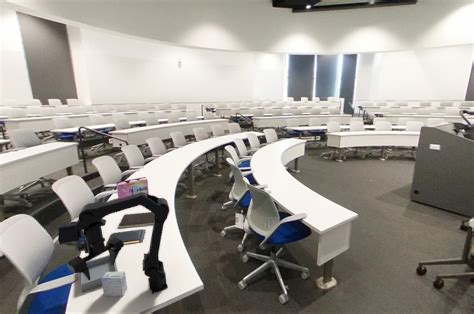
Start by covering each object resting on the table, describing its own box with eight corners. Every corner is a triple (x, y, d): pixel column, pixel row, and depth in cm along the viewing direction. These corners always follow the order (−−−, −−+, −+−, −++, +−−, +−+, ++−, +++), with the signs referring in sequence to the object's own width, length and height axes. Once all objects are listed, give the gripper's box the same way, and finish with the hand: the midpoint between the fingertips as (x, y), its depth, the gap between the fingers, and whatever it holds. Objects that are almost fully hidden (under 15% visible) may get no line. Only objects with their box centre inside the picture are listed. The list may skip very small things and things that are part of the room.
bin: (114, 259, 124) (113, 253, 123) (118, 278, 111) (117, 272, 110) (82, 269, 117) (81, 263, 116) (82, 291, 103) (81, 284, 103)
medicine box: (127, 288, 105) (125, 270, 103) (123, 296, 101) (120, 278, 99) (109, 288, 105) (106, 271, 103) (103, 297, 101) (100, 279, 99)
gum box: (147, 191, 214) (146, 176, 210) (150, 194, 207) (149, 178, 204) (117, 198, 200) (115, 182, 197) (120, 201, 194) (117, 185, 190)
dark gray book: (146, 227, 152) (142, 241, 137) (146, 230, 152) (142, 244, 138) (111, 231, 148) (103, 245, 133) (111, 234, 148) (103, 249, 134)
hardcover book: (157, 225, 158) (156, 221, 157) (118, 229, 154) (118, 225, 153) (159, 213, 173) (159, 210, 173) (125, 217, 169) (124, 214, 168)
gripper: (106, 220, 104) (112, 253, 108) (56, 243, 89) (65, 279, 93) (121, 227, 98) (127, 261, 102) (71, 253, 83) (79, 291, 87)
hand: (101, 272), depth 96 cm, fingers open, 9 cm apart
